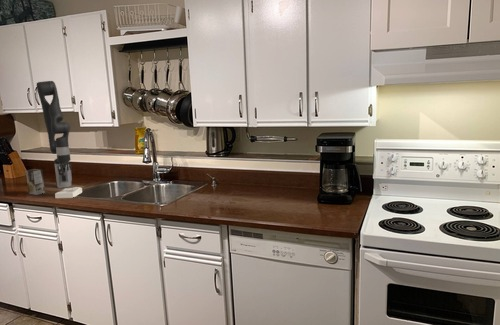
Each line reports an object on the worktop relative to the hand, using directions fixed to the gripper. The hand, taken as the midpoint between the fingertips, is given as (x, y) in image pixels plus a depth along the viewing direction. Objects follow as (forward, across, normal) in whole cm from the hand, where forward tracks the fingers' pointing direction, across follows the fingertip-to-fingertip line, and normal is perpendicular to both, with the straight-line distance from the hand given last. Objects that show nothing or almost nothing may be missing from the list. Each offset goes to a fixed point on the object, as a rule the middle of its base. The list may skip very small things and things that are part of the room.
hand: (66, 180), depth 239 cm
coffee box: (+10, -9, -25) cm, 29 cm away
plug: (+1, 0, 0) cm, 1 cm away
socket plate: (+10, -2, 0) cm, 10 cm away
